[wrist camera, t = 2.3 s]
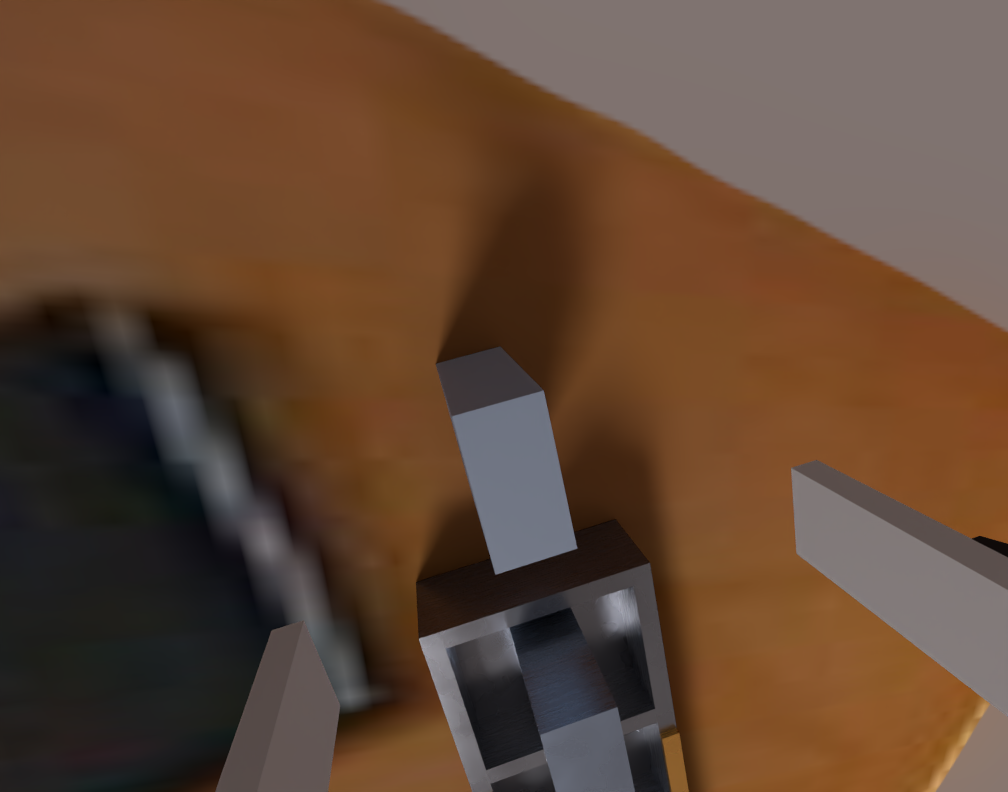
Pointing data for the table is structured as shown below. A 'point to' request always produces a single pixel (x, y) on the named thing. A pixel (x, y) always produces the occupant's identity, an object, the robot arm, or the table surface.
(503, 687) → the rack
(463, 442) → the block
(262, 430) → the table surface
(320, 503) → the table surface
